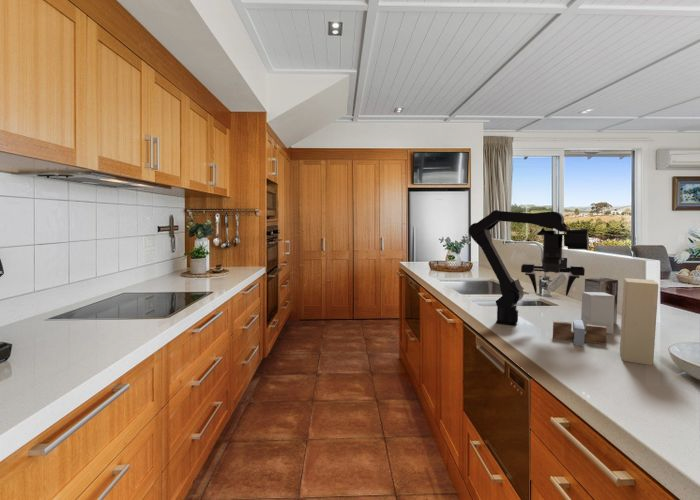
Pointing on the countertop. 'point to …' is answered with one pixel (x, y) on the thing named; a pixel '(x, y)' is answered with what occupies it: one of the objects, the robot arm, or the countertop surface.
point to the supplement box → (598, 310)
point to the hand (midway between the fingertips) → (550, 294)
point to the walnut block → (591, 335)
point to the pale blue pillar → (578, 332)
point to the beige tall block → (638, 320)
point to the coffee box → (604, 289)
